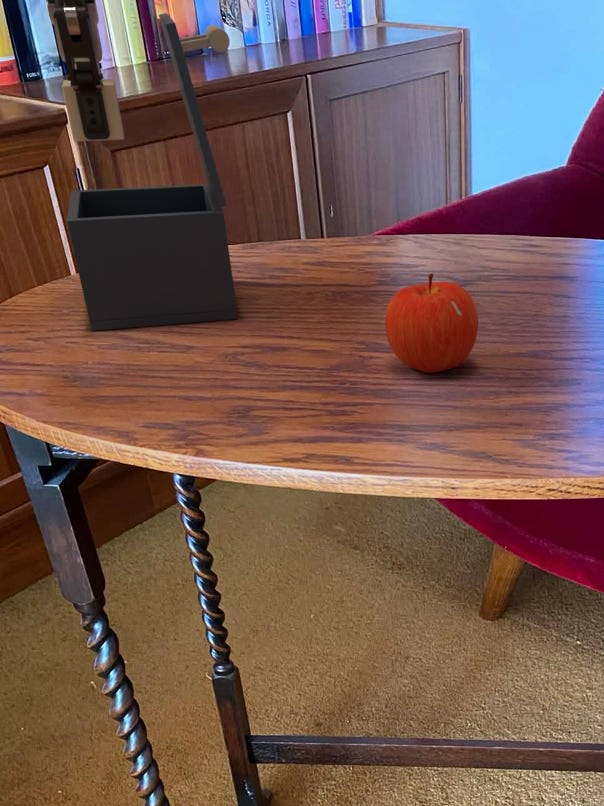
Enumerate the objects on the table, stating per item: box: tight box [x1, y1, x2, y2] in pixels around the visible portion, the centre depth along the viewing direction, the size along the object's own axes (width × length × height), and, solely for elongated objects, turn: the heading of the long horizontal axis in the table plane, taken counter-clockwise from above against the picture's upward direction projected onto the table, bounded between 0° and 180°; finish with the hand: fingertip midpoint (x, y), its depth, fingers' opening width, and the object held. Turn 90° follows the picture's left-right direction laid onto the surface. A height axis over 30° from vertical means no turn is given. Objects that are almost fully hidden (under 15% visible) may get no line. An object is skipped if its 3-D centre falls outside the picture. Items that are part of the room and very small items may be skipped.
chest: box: [66, 183, 239, 332], centre depth 96 cm, size 14×14×10 cm
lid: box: [158, 13, 231, 208], centre depth 90 cm, size 15×14×5 cm
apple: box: [384, 272, 479, 374], centre depth 83 cm, size 8×8×8 cm
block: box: [61, 78, 125, 143], centre depth 88 cm, size 4×4×4 cm
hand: (98, 133), depth 89 cm, fingers closed on block, 4 cm apart
